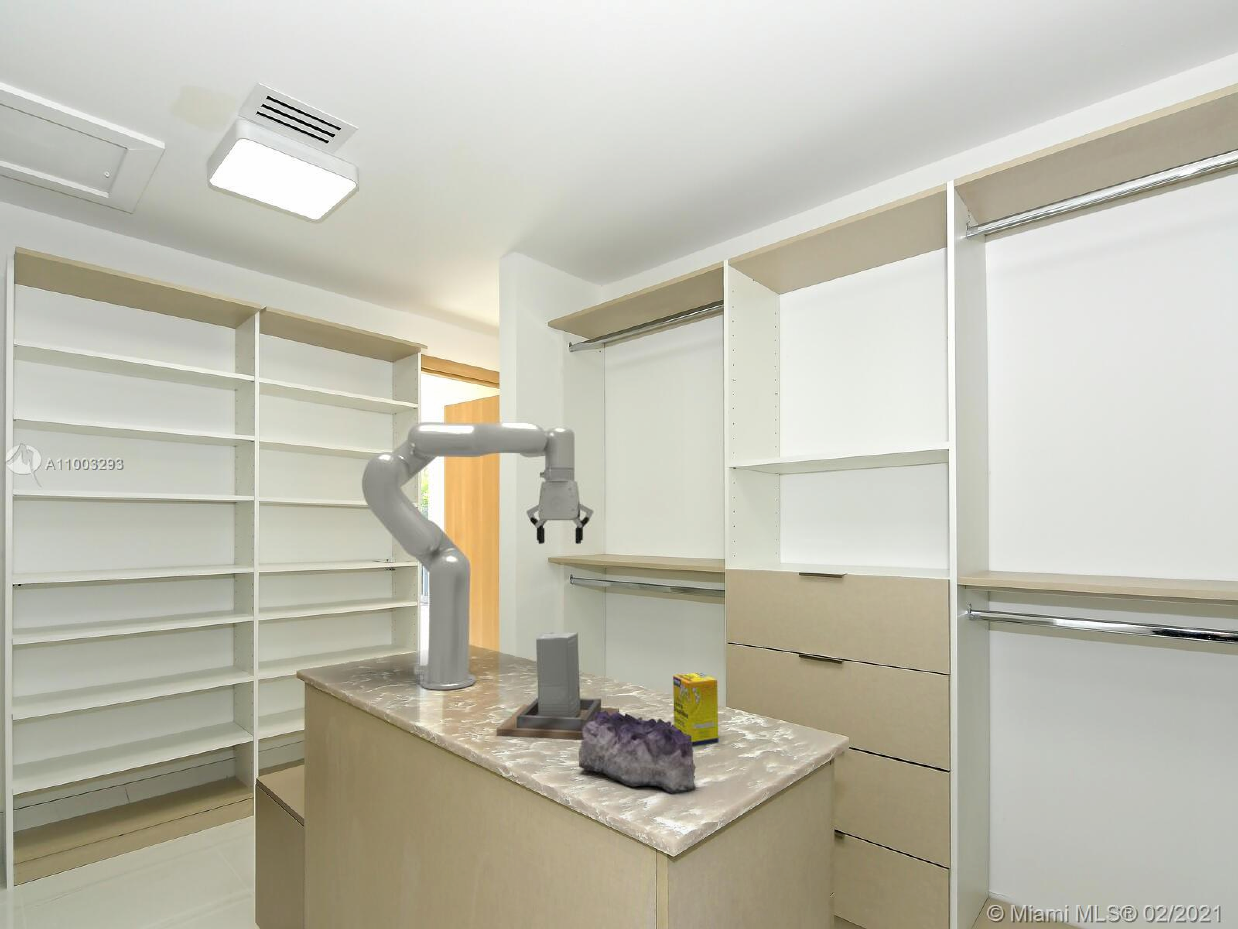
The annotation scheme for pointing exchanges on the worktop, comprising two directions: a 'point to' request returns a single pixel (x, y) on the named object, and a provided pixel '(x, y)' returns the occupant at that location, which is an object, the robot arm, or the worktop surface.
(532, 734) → the board
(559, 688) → the skincare box
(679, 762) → the geode
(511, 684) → the worktop surface
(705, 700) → the supplement box
